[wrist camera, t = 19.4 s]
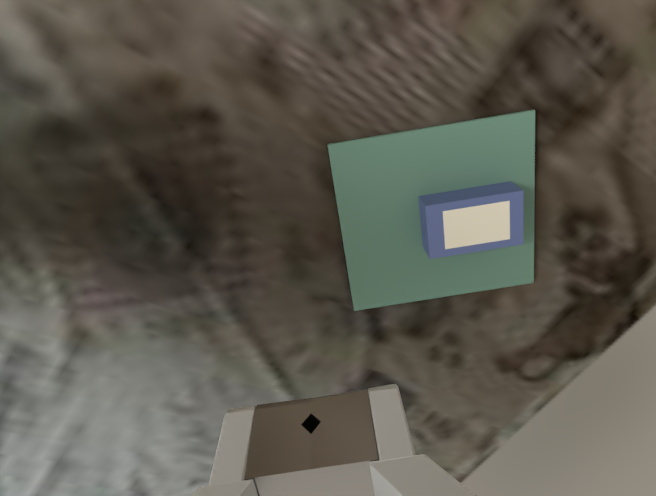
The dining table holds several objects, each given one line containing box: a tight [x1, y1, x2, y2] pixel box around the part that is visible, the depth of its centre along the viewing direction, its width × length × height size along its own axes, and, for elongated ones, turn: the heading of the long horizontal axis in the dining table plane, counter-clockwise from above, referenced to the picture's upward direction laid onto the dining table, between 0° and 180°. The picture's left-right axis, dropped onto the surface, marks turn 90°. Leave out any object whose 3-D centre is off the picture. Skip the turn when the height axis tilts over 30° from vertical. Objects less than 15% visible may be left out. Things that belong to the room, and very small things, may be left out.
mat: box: [327, 110, 535, 311], centre depth 38 cm, size 15×14×1 cm
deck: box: [418, 181, 523, 259], centre depth 37 cm, size 4×2×7 cm
